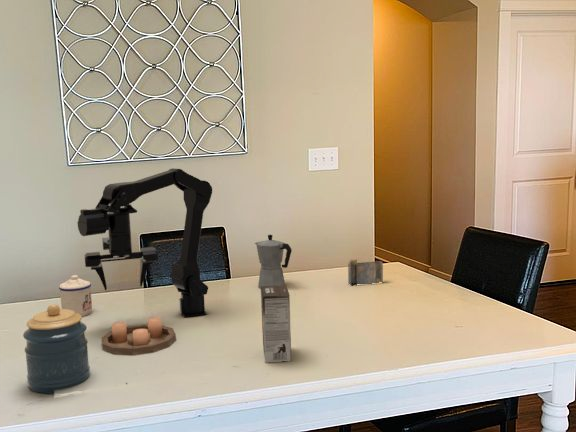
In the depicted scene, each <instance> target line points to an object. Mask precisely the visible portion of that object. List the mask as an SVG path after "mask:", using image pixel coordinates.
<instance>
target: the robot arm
mask: <svg viewBox="0 0 576 432" xmlns="http://www.w3.org/2000/svg"><path fill="white" fill-rule="evenodd" d="M173 185H174V187H176V188H177V189H179V190H181V191H182V192H183V201H184V204H185V208H186V212H185V218H184V219H185V220H184V228H183V235H182V241H181V249H180V257H179V260H178V261H177V262H176V263H175V262H173V263H171V272H170V275H169V277H170V278H171V283H172V285H173V286H174V287H175V288H176V289H177V292H178V293H180V297H179V312H180V313H181V315H182V316H183V317H184V318H188V317H195V316H196V317H197V316H198V317H199V316H204V315H207V312H206V311H205V310H206V309H205V307H206V306H205V295H207V294H208V290H209V286H208V285H207V284H206V283H204V282H203V281H202V280H201V269H200V266H199V262H198V255H199V248H200V247H199V246H200V239H201V233H202V225H203V218H204V212H205V210H206V208H207V207H208V205H209V204H210V201H211V198H212V194H213V187H212V185H211V184H210V182H209V181H207V180H201V179H199V178H197V177H196V176H194V175H192V174H189V173H187V172H186V171H184V170H183V169H181V168H169V169H168V170H166V171H163V172H159V173H155V174H153V175H149V176H147V177H143V178H140V179H137V180H135V181H127V182H126V181H125V182H115V183H109V184H107V185H106V186H104V188H103V192H102V196H101V198H100V199H99V201H98V203H97V204H96V205H95V208H91V209H90V208H89V209H86V208H83V209H80V214H79V216H78V221H77V229H78V232H79V234H80V236H82V237H88V236H95V235H102V234H105V233H107V231H108V237H102V238H101V239H102V240H101V242H102V250H103V251H108V252H109V253H108V254H101V253H100V252H101V251H94V252H86V253H85V254H84V264H85V265H84V266H85V268H90V270H93V271H94V270H95V272H96V273H97V275H98V277H99V278H100V281H101V283H102V286H103V288H104V290H105V291H107V290H108V289H107V288H108V287H107V280H106V276H105V273H104V272H105V271H104V268H103V264H102V263H107V262H115V261H116V262H117V261H125V260H127V261H128V260H135V259H136V260H137V259H139V264H140V265H139V266H140V267H139V287H142V286H143V283H144V280H145V277H146V274H147V271H148V269H149V267H150V265H154V261H155V262H156V261H158V260H159V256H158V255H159V254H158V251H157V249H156V248H155V247H154V246H149V247H140V251H133V249H132V246H133V245H132V232H131V231H132V230H131V214H135V213H138V210H137V208H135V207H133V206H132V203H133V202H135V201H136V200H138V199H139V198H140V197H142V196H144V195H147V194H149V193H152V192H155V191H158V190H161V189H164V188H166V187H170V186H173Z"/></svg>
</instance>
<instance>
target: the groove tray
mask: <svg viewBox="0 0 576 432" xmlns="http://www.w3.org/2000/svg"><path fill="white" fill-rule="evenodd" d="M126 328H127V341H126V342H124V343H113V337H112V330H111V331H108V332H107V333H105V334H104V335H103V336H102V337H101V346H102V347H101V348H102V351H104V352H105V353H110V354H112V355H117V356H118V355H119V356H120V355H121V356H137V355H144V354H150V353H151V354H153V353H155V352H158V351H161V350H164V349H167V348H169V347H171V346H172V344H174V343H175V342H176V341H177V335H176V332H175V330H174V328H172V327H170V326H167V325H163V324H162V337H160V338H150V333H149V332H148V343H149V345H141V346H134V343H133V331H134V330H136V329H147V330H148V323H147V324H136V325H126Z"/></svg>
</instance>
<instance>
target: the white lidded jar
mask: <svg viewBox="0 0 576 432" xmlns="http://www.w3.org/2000/svg"><path fill="white" fill-rule="evenodd" d="M91 287H92V284H91V282H90V281H88V280H85V279H82V278H79V276H78V274H75V275H71V276H70V278H69V279H68V280H67V281H64V282H63V283H60V285H59V287H58V290H59V293H60V294H59V295H60V307H61V309H69V310H72V311H74V312H75V313H78V314H80V315H81V316H82V317H85V316H88V315H90V314H92V313H93V305H92V302H93V301H92V291H91Z"/></svg>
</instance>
